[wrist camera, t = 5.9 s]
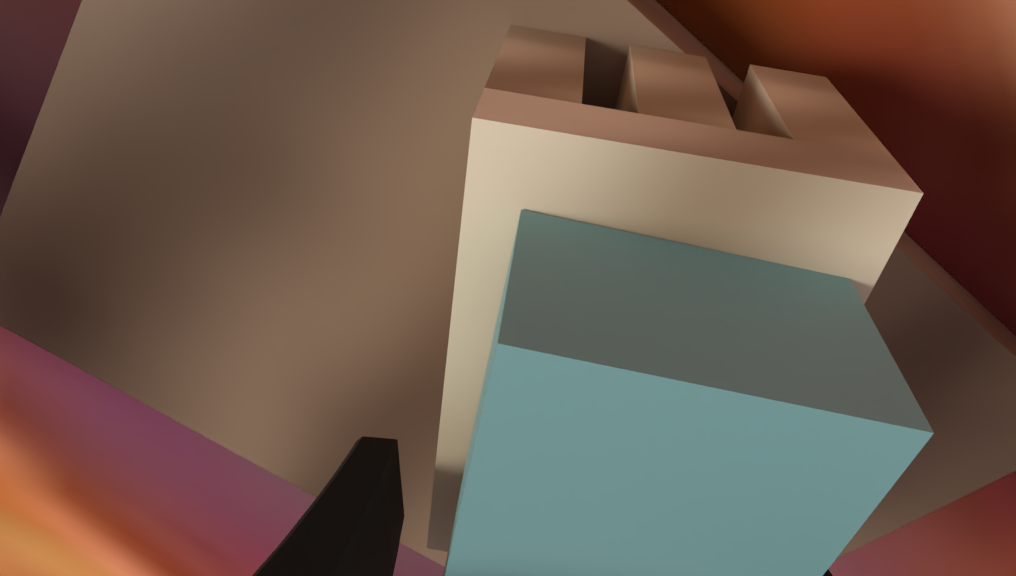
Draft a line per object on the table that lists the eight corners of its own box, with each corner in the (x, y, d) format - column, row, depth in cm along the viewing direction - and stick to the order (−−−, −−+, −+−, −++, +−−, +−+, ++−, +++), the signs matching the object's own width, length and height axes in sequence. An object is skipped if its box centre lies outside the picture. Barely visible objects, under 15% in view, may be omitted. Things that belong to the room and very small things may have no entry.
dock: (1033, 353, 16) (1096, 430, 14) (619, 588, 23) (622, 663, 21) (294, -336, 11) (222, -372, 9) (38, 248, 18) (-34, 306, 16)
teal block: (849, 277, 8) (933, 432, 6) (706, 530, 11) (731, 692, 9) (520, 209, 8) (497, 342, 6) (461, 480, 11) (431, 633, 9)
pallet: (826, 77, 11) (924, 193, 8) (684, 430, 15) (707, 597, 12) (510, 25, 11) (472, 117, 8) (463, 391, 16) (426, 547, 12)
